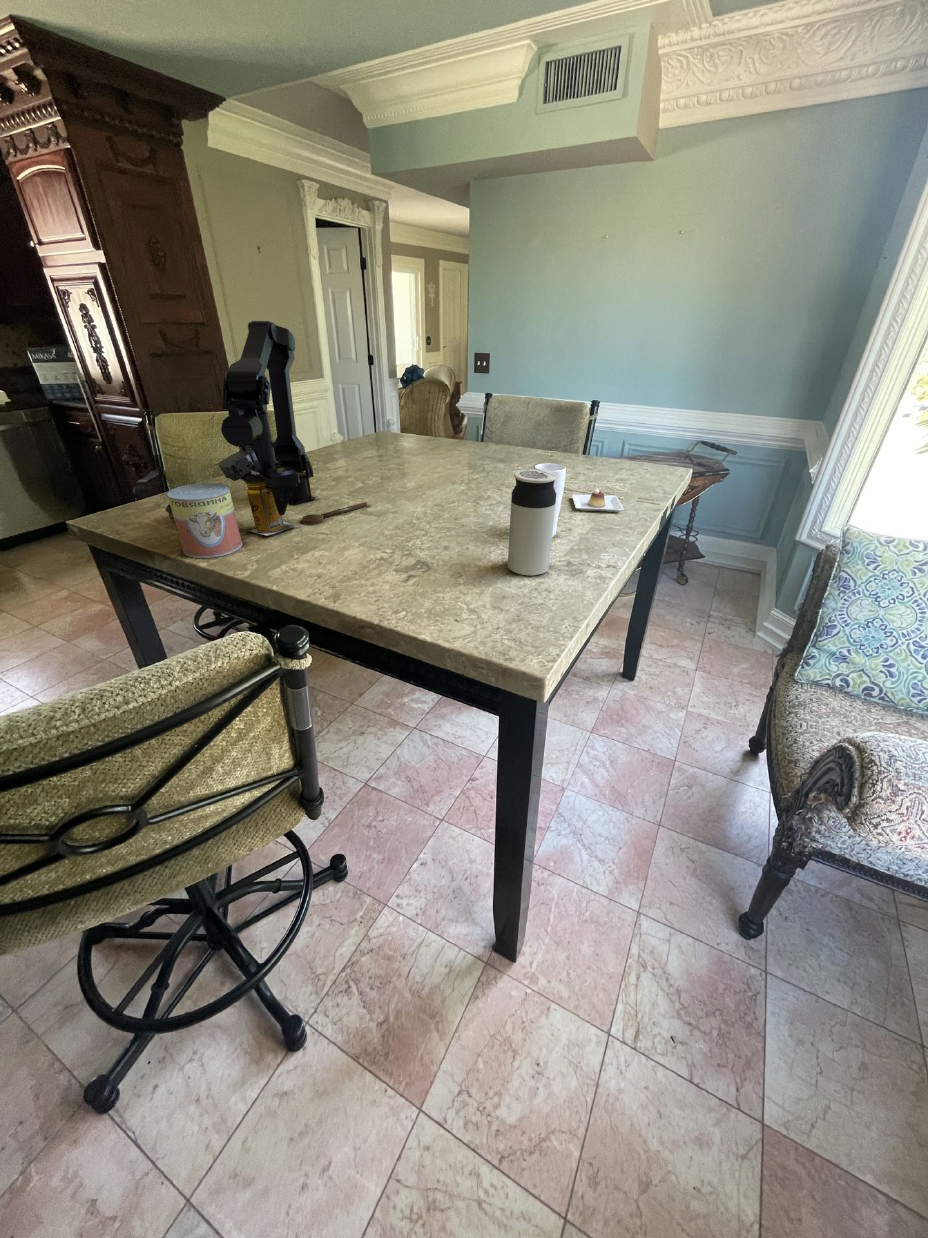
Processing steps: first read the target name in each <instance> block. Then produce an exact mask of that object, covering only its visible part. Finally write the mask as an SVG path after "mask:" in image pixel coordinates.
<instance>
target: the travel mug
mask: <svg viewBox="0 0 928 1238" xmlns="http://www.w3.org/2000/svg"><path fill="white" fill-rule="evenodd" d="M513 477H514V479H515V486H514V487H513V489H512V491H511V497H510V498H511V499H510V514H509V515H510V518H509V533H508V536H509V537H508V550H507V568H508V569H509V570H510V571H511V572H513V573H516V574H518V575H522V576H528V577H529V576H539V575H542V574H545V573H546V572H548V571H549V568H550V559H551V551H552V541H553V537H552V533H553V523H554V514H555V504H556V492H555V489H554V487H553V486H554V482H555V480H556V478H557V476H556V474H554V473H552V472H549V471H544V470H534V469H521V470H518V471H516V472H515V473H514V474H513Z"/></svg>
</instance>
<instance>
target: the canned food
mask: <svg viewBox="0 0 928 1238" xmlns="http://www.w3.org/2000/svg"><path fill="white" fill-rule="evenodd" d="M166 497H167V499H168V502H169V503H168V504H169V505H170V506H171V509H172V513H173V516H174V519H173V520H174V523H175V526H176V529H177V533H178V536H179V539H180V542H181V546H182V549H183V550H182V551H183V554H184V555H185V556H186V557H190V558H194V559H211V558H218V557H224V556H227V555H230V554H232V553H235V552H237V551H238V550H239V549H241V548H242V547H243V541H242V537H241V533H240V529H239V524H238V520H237V516H236V512H235V508H234V502H233V499H232V494H231V488H230V486H229V485H227V484H225V483H221V482H220V483H219V482H199V483H190V484H185V485H180V486H178V487H174V488H172V489H170V490H168V491H167V493H166Z"/></svg>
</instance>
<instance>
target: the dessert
mask: <svg viewBox="0 0 928 1238" xmlns="http://www.w3.org/2000/svg"><path fill="white" fill-rule="evenodd" d="M571 497H572V500H573V501H572V502H573V503H574V507H575V509H577V510H579V511H584V512H585V511H586V512H608V513H609V512H610V513H611V512H612V513H617V512H622V511H624V510H625V509H624V506H623V505H622V503H621V501H620V500H619V497H618V495H605V493H604V492H602V490H601V489H599V487H596V488H595V489H594V490H593V492H591V494H581V493H579V494H577V493H571Z"/></svg>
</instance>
